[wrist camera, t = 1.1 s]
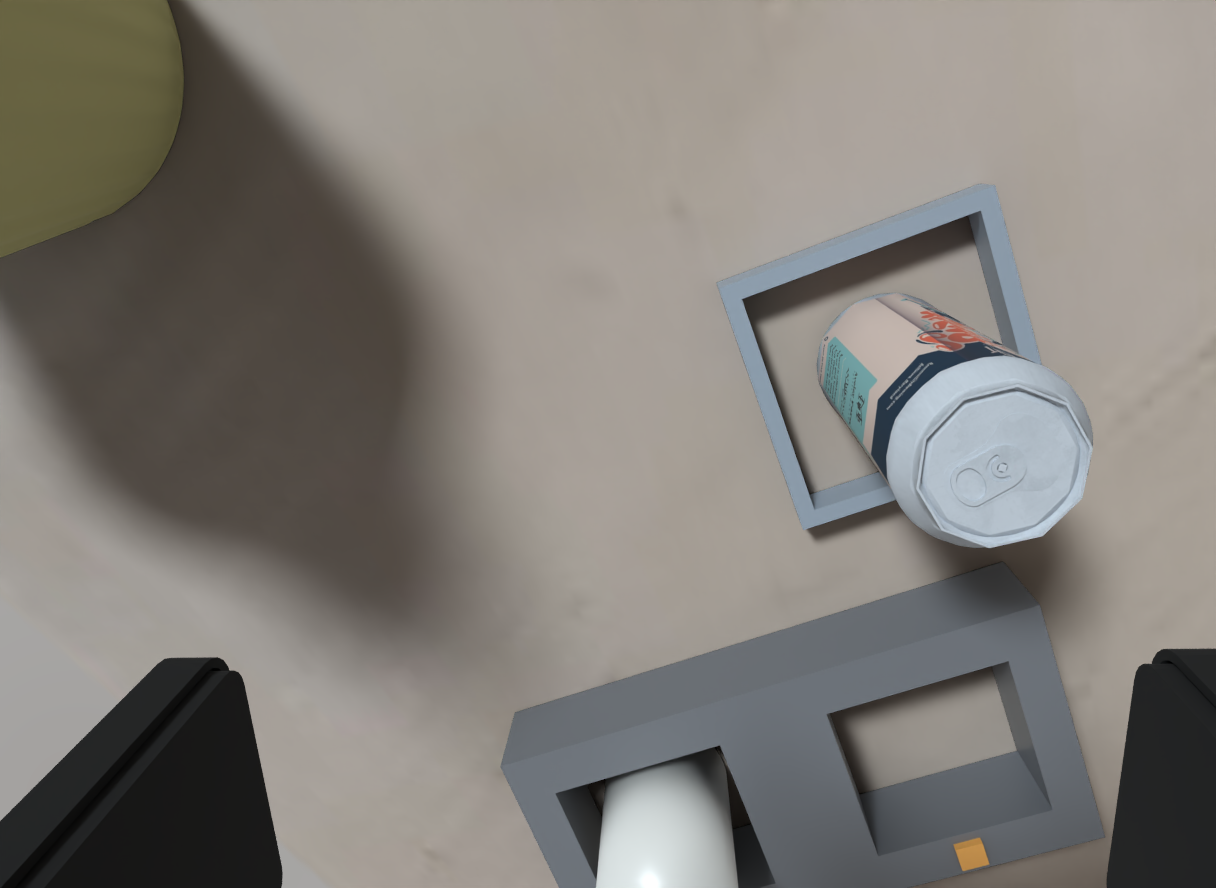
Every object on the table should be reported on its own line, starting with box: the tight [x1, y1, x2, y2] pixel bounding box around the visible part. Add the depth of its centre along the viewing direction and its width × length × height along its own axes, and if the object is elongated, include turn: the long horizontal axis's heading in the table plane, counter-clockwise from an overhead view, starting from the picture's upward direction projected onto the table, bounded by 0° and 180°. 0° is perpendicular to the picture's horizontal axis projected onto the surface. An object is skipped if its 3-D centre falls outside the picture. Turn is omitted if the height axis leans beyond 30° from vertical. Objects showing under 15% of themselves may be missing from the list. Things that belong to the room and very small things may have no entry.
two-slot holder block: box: [501, 562, 1105, 888], centre depth 33 cm, size 20×10×8 cm, turn 111°
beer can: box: [817, 293, 1093, 548], centre depth 27 cm, size 5×5×12 cm
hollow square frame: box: [716, 184, 1042, 530], centre depth 32 cm, size 9×9×2 cm
